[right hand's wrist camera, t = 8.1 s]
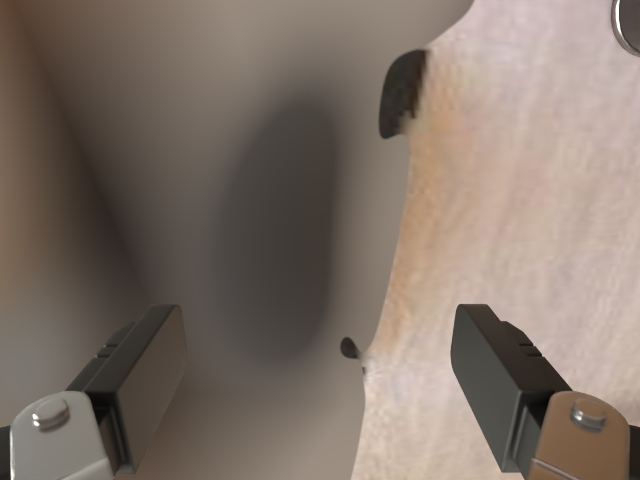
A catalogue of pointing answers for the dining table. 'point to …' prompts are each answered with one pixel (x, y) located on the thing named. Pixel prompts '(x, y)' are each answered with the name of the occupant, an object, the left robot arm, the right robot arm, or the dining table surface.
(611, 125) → the dining table surface
